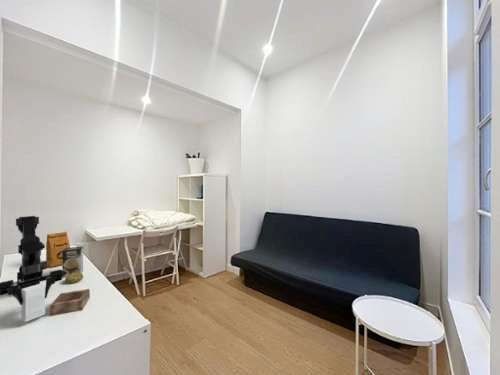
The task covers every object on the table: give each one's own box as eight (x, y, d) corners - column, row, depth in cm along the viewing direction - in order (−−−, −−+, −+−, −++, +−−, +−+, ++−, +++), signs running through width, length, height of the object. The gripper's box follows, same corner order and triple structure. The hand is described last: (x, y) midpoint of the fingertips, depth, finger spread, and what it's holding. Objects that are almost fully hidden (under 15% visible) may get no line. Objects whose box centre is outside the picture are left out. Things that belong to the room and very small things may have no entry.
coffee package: (72, 263, 152) (72, 231, 152) (48, 269, 142) (48, 235, 142) (68, 260, 158) (67, 230, 158) (44, 265, 148) (44, 233, 148)
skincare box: (40, 311, 92) (41, 282, 92) (45, 314, 90) (45, 285, 90) (20, 319, 86) (20, 288, 86) (24, 322, 85) (25, 291, 84)
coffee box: (62, 278, 129) (61, 250, 128) (65, 274, 134) (64, 247, 134) (81, 275, 133) (80, 248, 133) (83, 271, 139) (83, 245, 138)
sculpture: (63, 278, 119) (66, 273, 125) (63, 286, 119) (66, 280, 125) (82, 275, 123) (83, 270, 130) (82, 282, 123) (83, 277, 130)
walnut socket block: (50, 316, 91) (49, 305, 91) (61, 302, 101) (60, 293, 101) (82, 310, 96) (82, 299, 95) (89, 298, 106) (89, 288, 106)
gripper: (-3, 262, 84) (-3, 301, 76) (61, 251, 97) (66, 283, 90) (-1, 276, 89) (-2, 314, 82) (59, 264, 103) (63, 295, 96)
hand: (33, 301), depth 87 cm, fingers closed on skincare box, 7 cm apart
